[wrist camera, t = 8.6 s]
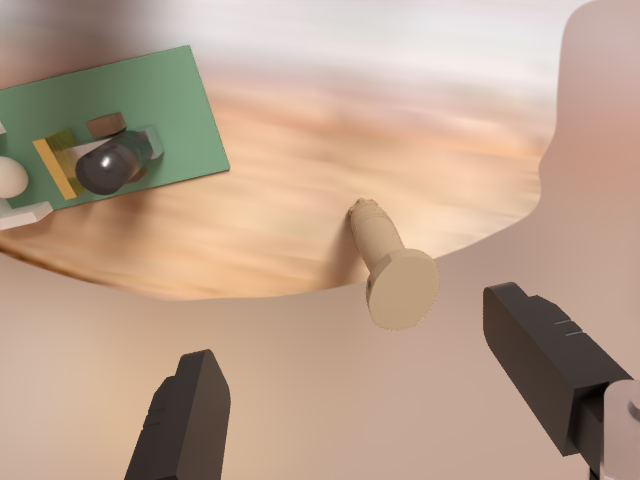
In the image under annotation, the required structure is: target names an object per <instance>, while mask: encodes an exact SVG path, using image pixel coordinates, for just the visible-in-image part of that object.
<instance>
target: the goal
mask: <svg viewBox="0 0 640 480" xmlns="http://www.w3.org/2000/svg"><path fill="white" fill-rule="evenodd" d="M3 133H6V130H5V128H4V127H3V125H2V123H1V122H0V134H3ZM52 211H53V208H52V207H51V205H50V203H49V202H48V201H45V202H41V203H36V204H32V205H28V206H24V207H19V208H15V209H12V208H11V206H10V204H9V203H8V201H7V200H6V198H0V230H5V229H9V228H13V227H18V226H22V225H26V224H30V223H35V222H39V221H40V220H41V219H43V218H44V217H45V216H47V215H48V214H49V213H51V212H52Z"/></svg>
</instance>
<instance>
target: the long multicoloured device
mask: <svg viewBox="0 0 640 480" xmlns="http://www.w3.org/2000/svg"><path fill="white" fill-rule="evenodd" d="M32 142H33V144H34V146H35V148H36V149H37V151H38V153H39V155H40V156H41V158H42V160H43V162H44V163H45V165H46V167H47V169H48V170H49V172H50V174H51V175H52V177H53V179H54V181H55V182H56V184H57V186H58V188H59V189H60V191H61V193H62V195H63V196H64V198H65V200H67V199H71V198H76V197H78V196H79V195H80V194H82V193H83V192H84V191H86V190H88V191H90V192H92V193H94V194H97V195H111V194H113V193H115V192H117V191H118V190H119V189H120V188H121V187H122V186H123V185H124V184H125V183H126V182H127V181H128V180H129V179H131V178H132V177H133V176H134V175H135V174H136V173H137V172H138V171H139V170H140V169H141V168H142V167H143V166H144V165H145V164H146V163H148V162H149V160H151V159H155V158H158V157H159V156H160V155H161V154H162V153H163V152H164V149H163V146H162V144H161V141H160V139H159V137H158V134H157V132H156V129H155V127H154V125H149V126H145V127H141V128H137V129H132V130H128V131H124V132H120V133H116V134H111V135H107V136H103V137H99V138H94V139H90V140H86V141H82V142H76V140H75V138H74V136H73V134H72V132H71V130H70V128H67V129H63V130H59V131H56V132H54V133H51V134H49V135H47V136H44V137H42V138H39V139H37V140H35V141H32Z"/></svg>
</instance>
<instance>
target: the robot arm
mask: <svg viewBox="0 0 640 480" xmlns="http://www.w3.org/2000/svg"><path fill="white" fill-rule="evenodd" d="M483 330H484V335H485V338H486V341H487V343H488V346H489V348H490V349H491V351H492V352H493V354H494V355H495V357H496V358H497V360H498V361H499V363H500V364H501V366H502V367H503V369H504V370H505V371H506V373H507V375H508V376H509V377H510V379H511V380H512V382H513V383H514V385H515V386H516V388H517V389H518V391H519V392H520V394H521V395H522V397H523V398H524V400H525V401H526V403H527V404H528V406H529V407H530V409H531V410H532V412H533V413H534V414H535V416H536V417H537V419H538V420H539V422H540V423H541V425H542V426H543V428H544V429H545V431H546V432H547V434H548V435H549V437H550V438H551V440H552V441H553V443H554V444H555V445H556V447H557V448H558V450H559V451H560V453H561V454H562V456H563V457H564V456H568V455H573V454H577V453H580V454H581V455H582V457H583V458H584V459H585V461H586V462H587V464H588V469H587V480H640V381H638V380H634V379H633V378H632V377H631V376H630V375H629V374H628V373H627V372H626V371H625V370H623V369H622V368H621V367H620V366H619V365H618V364H617V363H616V362H615V361H614V360H613V359H612V358H611V357H610V356H609V355H608V354H607V353H606V352H605V351H604V350H603V349H602V348H601V347H600V346H599V345H597V343H595V342H594V341H593V340H592V339H591V338H590V337H589V336H588V335H587V334H586V333H583V331H582V329H581V328H580V327H579V326H578V325H577V324H576V323H575V322H573V321H571V319H570V317H569V316H567V315H566V314H565V313H564V312H563V311H562V310H561V309H560V308H559V307H558V306H557V305H556V304H554V303H551V302H550V301H548V300H546V299H544V298H542V297H540V296H538V295H536V296H531V297H528V296H527V295H526V294H525V293H524V291H523V290H522V289H521V288H520V287H519V286H518V285H517V284H516V283H514V282H508V283H503V284H499V285H495V286H491V287H486V288H485V289H484V292H483ZM230 402H231V401H230V392H229V387H228V384H227V382H226V380H225V378H224V376H223V374H222V372H221V369H220V367H219V365H218V363H217V361H216V359H215V357H214V354H213V353H212V351H211V350H209V349H207V350H202V351H198V352H193V353H189V354H184V355H183V356H182V357H181V359H180V361H179V364H178V368H177V371H176V374H175V376H171V377H167V378H166V379H165V380H164V382H163V383H162V384H161V386H160V387H159V388H158V390H157V391H156V392H155V394H154V396H153V399H152V402H151V405H150V407H149V410H148V415H147V416H146V419H145V422H144V424H143V430H142V431H141V433H140V436H139V439H138V441H137V444H136V447H135V450H134V453H133V456H132V458H131V461H130V464H129V467H128V470H127V473H126V475H125V478H124V480H221V472H222V464H223V457H224V450H225V442H226V435H227V427H228V420H229V413H230Z"/></svg>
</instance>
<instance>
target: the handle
mask: <svg viewBox="0 0 640 480" xmlns="http://www.w3.org/2000/svg"><path fill="white" fill-rule="evenodd" d="M349 216H350V219H351V229H352V234H353V237H354V240H355V243H356V246H357V248H358V250H359V252H360V254H361V256H362V258H363V260H364V261H365V263H366V266H367V268H368V270H369V272H370V275H369V278H368V280H367V287H366V299H367V303H368V308H369V311H370V315H371V318H372V322H373V323H374V324H375V325H377V326H378V327H380V328H384V329H387V330H405V329H409V328H412V327H414V326H415V325H416V324H418V322H420V320H422V319H423V318H424V317H425V315H427V313H428V312H429V311H430V310H431V308H432V306H433V304H434V301H435V298H436V296H437V294H438V290H439V273H438V268H437V265H436V263H435V262H434V261H433V259H432V258H431V257H430V256H429V255H427V254H426V253H424V252H422V251H419V250H415V249H405V248H404V245H403V243H402V241H401V239H400V237H399V234H398V232H397V230H396V228H395V226H394V224H393V222H392V221H391V219H390V218H389V216H388V215H387V214H386V213H385V212H384V210H383V209H381V208H380V207H379V206H378V204H377V203H376V202H375V201H374V200H365V199H363V198H361V199H359V200H358V202H357V203H356V204H355V205H354V206H353V207H351V208H350V210H349Z"/></svg>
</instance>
